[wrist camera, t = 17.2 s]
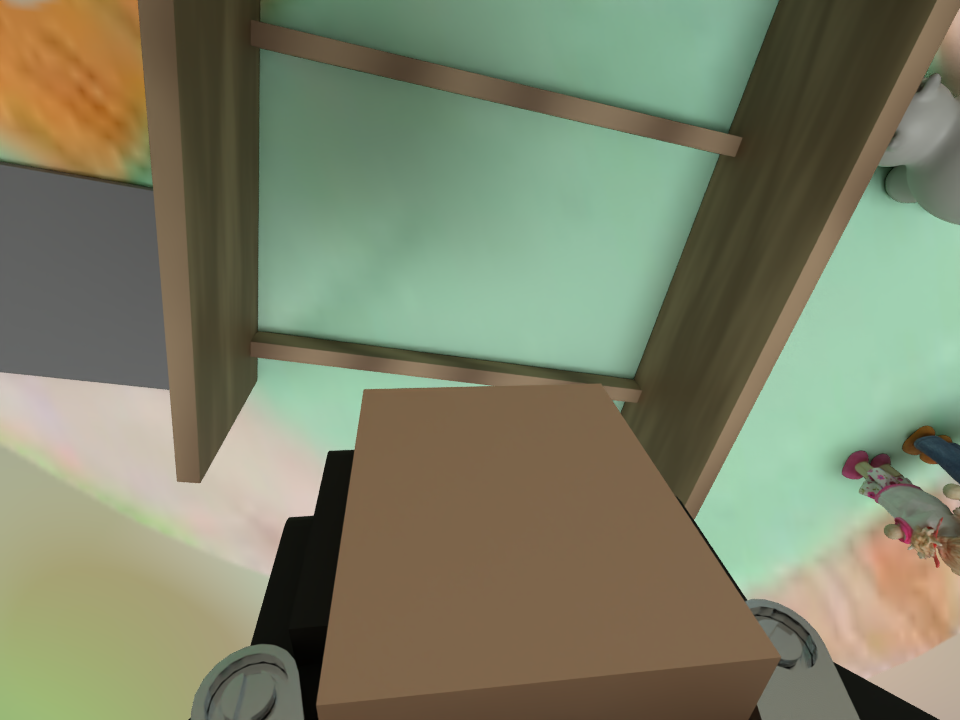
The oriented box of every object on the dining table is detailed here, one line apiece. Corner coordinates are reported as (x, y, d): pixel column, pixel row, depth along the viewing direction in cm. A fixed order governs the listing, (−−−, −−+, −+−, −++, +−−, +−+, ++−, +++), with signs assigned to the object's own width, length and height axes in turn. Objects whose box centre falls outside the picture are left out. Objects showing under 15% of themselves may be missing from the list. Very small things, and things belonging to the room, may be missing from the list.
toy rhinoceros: (841, 44, 29) (922, -7, 22) (1051, 116, 28) (1219, 90, 20) (772, 168, 32) (822, 162, 24) (961, 239, 31) (1077, 257, 23)
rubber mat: (-2, 366, 30) (-10, 371, 29) (-55, 152, 25) (-66, 153, 24) (215, 389, 32) (212, 394, 32) (209, 197, 27) (204, 199, 26)
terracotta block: (376, 561, 13) (352, 902, 7) (363, 389, 10) (315, 705, 5) (570, 548, 13) (678, 851, 8) (600, 383, 11) (781, 657, 6)
